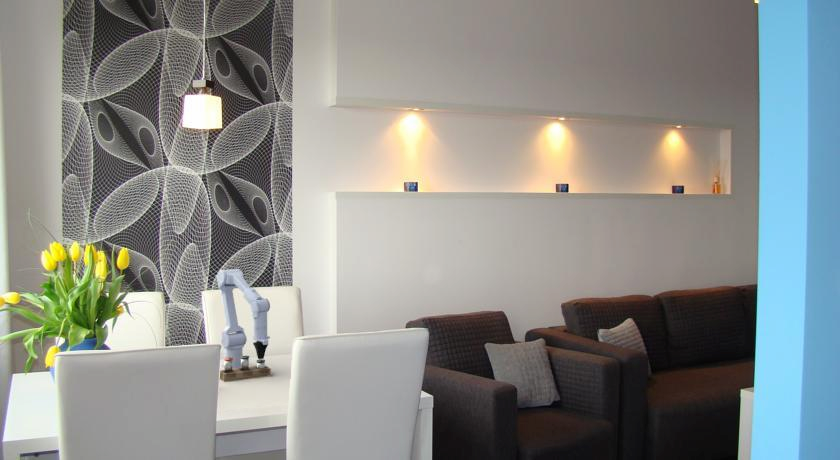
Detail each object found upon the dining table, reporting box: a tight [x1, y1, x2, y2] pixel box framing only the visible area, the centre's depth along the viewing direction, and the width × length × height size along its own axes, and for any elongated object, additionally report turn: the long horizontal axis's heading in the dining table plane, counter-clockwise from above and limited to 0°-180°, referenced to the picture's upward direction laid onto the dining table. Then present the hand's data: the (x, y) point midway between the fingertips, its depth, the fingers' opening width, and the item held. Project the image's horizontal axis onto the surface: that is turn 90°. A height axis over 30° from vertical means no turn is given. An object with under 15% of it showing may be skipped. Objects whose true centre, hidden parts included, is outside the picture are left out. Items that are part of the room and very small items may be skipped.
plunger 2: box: [256, 359, 266, 369], centre depth 313 cm, size 4×4×6 cm
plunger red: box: [223, 357, 233, 372], centre depth 306 cm, size 4×4×6 cm
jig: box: [219, 365, 272, 382], centre depth 309 cm, size 8×20×3 cm, turn 121°
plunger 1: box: [240, 355, 250, 370], centre depth 309 cm, size 4×4×6 cm
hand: (260, 358), depth 313 cm, fingers closed
